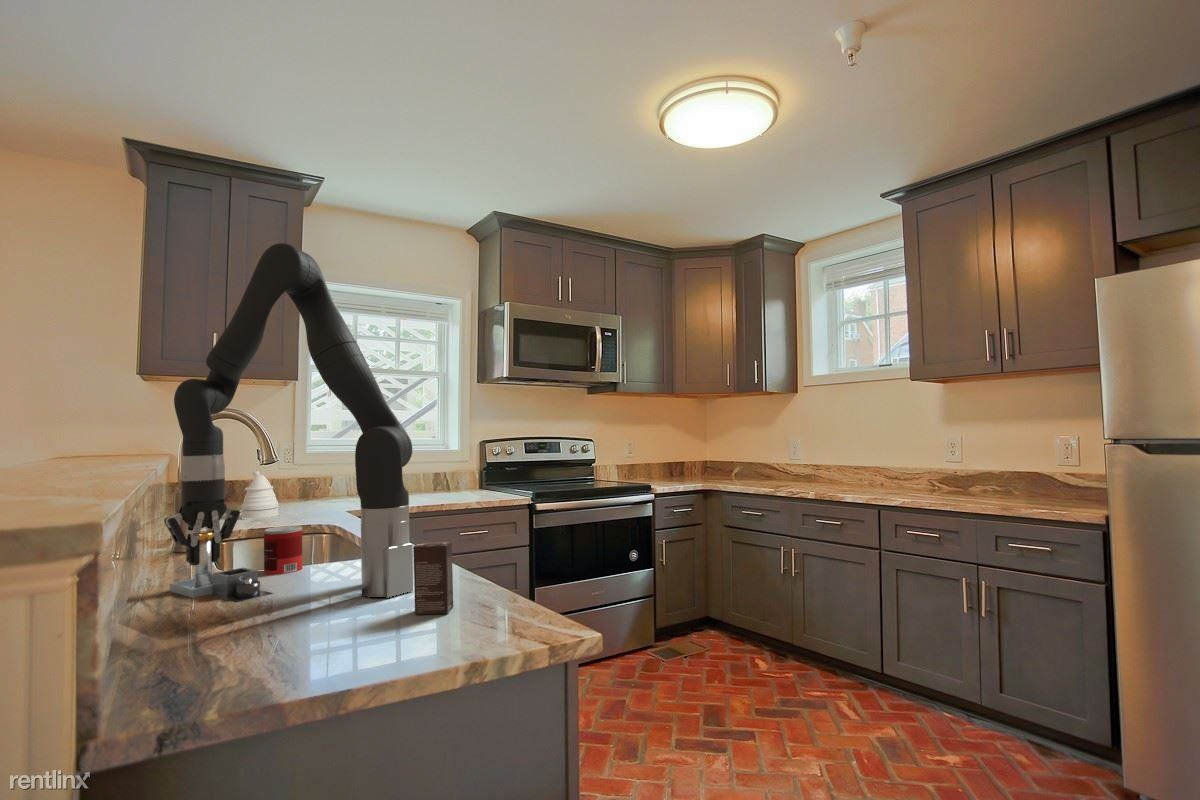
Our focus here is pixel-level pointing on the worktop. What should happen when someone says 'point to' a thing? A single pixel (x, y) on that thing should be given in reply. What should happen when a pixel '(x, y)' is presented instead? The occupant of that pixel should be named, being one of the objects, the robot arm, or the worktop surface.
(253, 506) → the honey pot
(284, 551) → the canned food
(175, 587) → the tray
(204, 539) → the lock pin
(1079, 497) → the worktop surface
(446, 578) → the box
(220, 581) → the pulley bracket
